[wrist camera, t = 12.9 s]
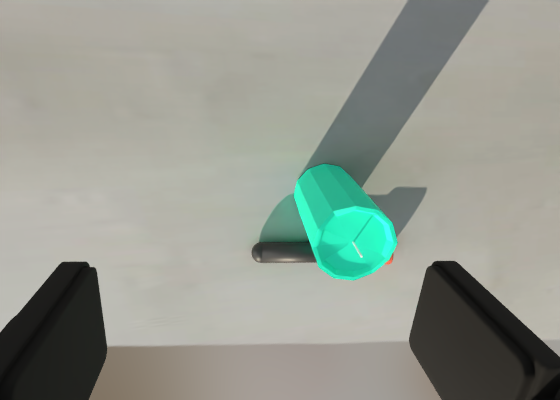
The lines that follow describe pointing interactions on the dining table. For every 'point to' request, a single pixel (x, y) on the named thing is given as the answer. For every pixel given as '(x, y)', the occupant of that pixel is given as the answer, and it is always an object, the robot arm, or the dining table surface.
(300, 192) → the candle
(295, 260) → the marker
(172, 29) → the dining table surface
